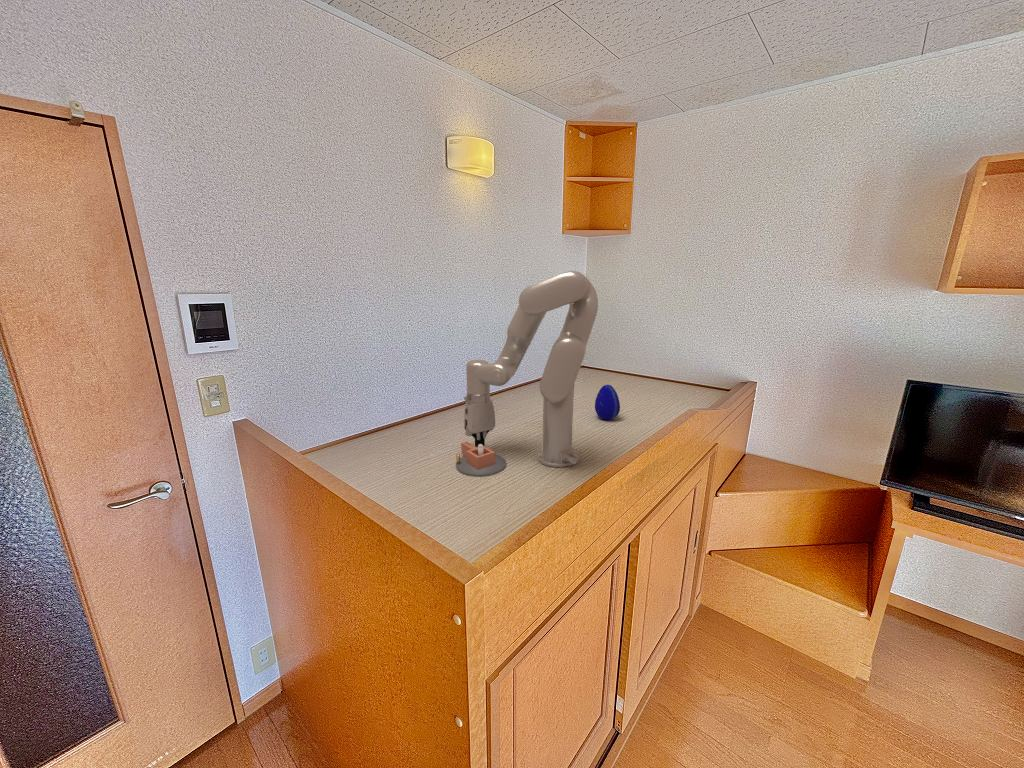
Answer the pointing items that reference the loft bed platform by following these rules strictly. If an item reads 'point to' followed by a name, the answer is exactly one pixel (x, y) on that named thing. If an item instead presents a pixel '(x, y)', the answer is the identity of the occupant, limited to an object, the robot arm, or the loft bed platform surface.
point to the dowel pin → (458, 458)
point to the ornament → (607, 403)
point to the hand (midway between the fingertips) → (479, 448)
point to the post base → (487, 471)
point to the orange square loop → (473, 457)
